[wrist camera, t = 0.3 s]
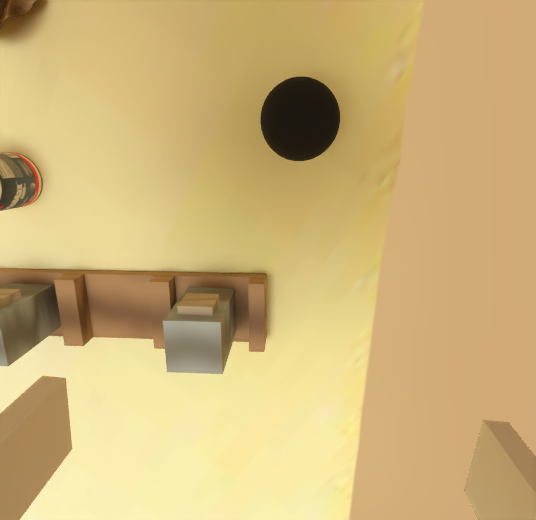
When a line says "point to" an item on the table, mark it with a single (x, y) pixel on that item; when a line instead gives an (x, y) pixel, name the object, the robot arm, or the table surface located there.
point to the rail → (135, 312)
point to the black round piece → (300, 118)
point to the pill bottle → (18, 181)
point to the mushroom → (14, 8)
